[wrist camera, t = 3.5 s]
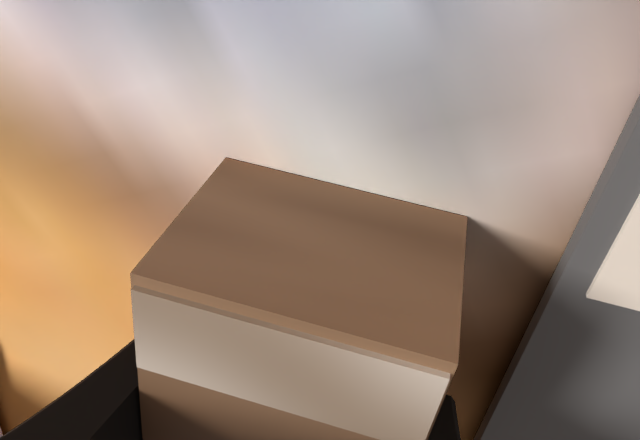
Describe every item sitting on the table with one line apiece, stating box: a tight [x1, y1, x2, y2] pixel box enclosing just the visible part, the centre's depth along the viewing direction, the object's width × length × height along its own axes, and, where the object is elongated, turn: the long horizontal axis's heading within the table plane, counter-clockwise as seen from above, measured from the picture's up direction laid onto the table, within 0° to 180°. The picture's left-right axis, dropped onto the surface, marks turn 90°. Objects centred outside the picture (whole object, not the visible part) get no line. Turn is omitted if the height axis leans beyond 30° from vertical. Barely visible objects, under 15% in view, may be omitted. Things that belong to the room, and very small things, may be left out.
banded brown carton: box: [130, 158, 467, 440], centre depth 11 cm, size 8×4×4 cm, turn 172°
